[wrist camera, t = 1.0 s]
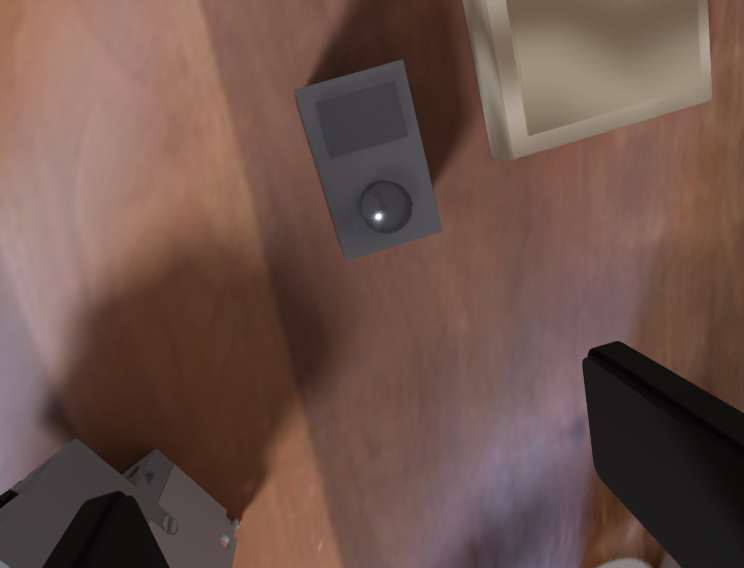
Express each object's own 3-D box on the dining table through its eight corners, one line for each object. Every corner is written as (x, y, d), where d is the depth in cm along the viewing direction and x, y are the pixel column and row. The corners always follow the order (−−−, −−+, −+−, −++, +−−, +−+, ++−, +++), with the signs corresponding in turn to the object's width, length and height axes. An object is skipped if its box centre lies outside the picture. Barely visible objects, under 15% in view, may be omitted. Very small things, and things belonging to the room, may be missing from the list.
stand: (450, -66, 24) (472, -100, 21) (655, -120, 25) (707, -161, 22) (492, 159, 28) (517, 159, 25) (671, 105, 29) (718, 99, 25)
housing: (296, 104, 26) (293, 87, 19) (380, 81, 26) (406, 55, 19) (337, 239, 28) (347, 264, 21) (414, 215, 28) (447, 233, 22)
